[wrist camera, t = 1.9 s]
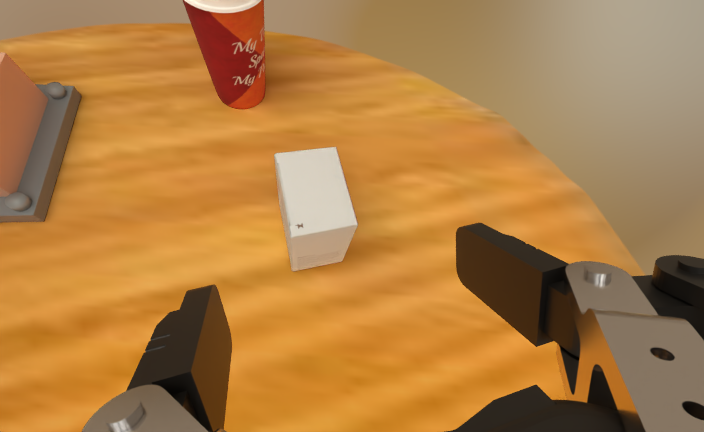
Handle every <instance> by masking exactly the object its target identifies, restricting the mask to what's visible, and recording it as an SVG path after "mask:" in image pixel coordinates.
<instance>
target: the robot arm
mask: <svg viewBox="0 0 704 432" xmlns="http://www.w3.org/2000/svg"><path fill="white" fill-rule="evenodd" d="M456 268H457V274H458V277H459V279H460V281H461V282H462V284H463V285H464V286H465V287H466V288H468V289H469V290H470V291H471V292H472V293H473V294H475V295H476V296H477V297H478V298H479V299H481V300H482V301H483V302H484V303H485V304H486V305H488V306H489V307H490V308H491V309H492V310H494V311H495V312H496V313H497V314H498V315H499V316H501V317H502V318H503V319H504V320H505V321H507V322H508V323H509V324H510V325H511V326H512V327H514V328H515V329H516V330H517V331H518V332H519V333H521V334H522V335H523V336H524V337H525V338H527V339H528V340H529V341H530V342H531V343H532V344H534V345H535V346H536V347H537V346H540V345H543V344H546V343H549V342H552V341H555V342H556V343H557V350H556V355H557V360H558V364H559V368H560V373H561V377H562V381H563V385H564V390H565V394H566V398H567V400H551V399H550V398H549V397H548V396H547V395H546V394H545V393H544V392H543V391H542V390H541V389H540V388H539V387H538V386H537V385H534V386H531V387H528V388H526V389H523V390H520V391H517V392H515V393H512V394H509V395H507V396H504V397H501V398H498V399H496V400H493V401H492V402H491V403H490V404H488V405H487V406H486V407H484V408H483V409H482V410H481V411H479V412H478V413H477V414H476V415H474V416H473V417H472V418H470V419H469V420H468V421H467V422H465V423H464V424H463V425H461V426H460V427H459V428H457V429H455V430H453V431H446V432H704V259H701V258H696V257H690V256H679V255H671V256H664V257H660V258H658V259H657V260H656V262H655V267H654V271H653V275H648V276H630V275H629V274H628V273H627V272H626V271H624V270H622V269H620V268H618V267H615V266H612V265H609V264H605V263H600V262H591V261H581V262H575V263H572V264H568V263H566V262H564V261H562V260H560V259H558V258H556V257H554V256H552V255H550V254H547V253H545V252H543V251H541V250H539V249H536V248H535V247H533V246H531V245H529V244H526V243H525V242H523V241H521V240H519V239H517V238H515V237H513V236H509V235H505V234H502V233H500V232H498V231H496V230H494V229H492V228H490V227H488V226H486V225H484V224H482V223H476V224H471V225H467V226H463V227H459V228H458V229H457V232H456ZM145 351H146V353H144V354H143V356H142V358H141V360H140V362H139V365H138V367H137V369H136V371H135V373H134V375H133V377H132V380H131V382H130V384H129V386H128V388H127V390H126V392H124V393H122V394H120V395H118V396H116V397H115V398H113V399H112V400H110V401H109V402H107V403H106V404H105V405H104V406H102V407H101V408H100V409H99V410H98V411H97V412H96V413H95V414H94V415H93V416H92V417H91V418H90V419H89V421H88V422H87V424H86V425H85V426H84V428H83V430H82V432H226V431H225V430H223V429H224V420H225V410H226V400H227V391H228V381H229V372H230V362H231V353H232V340H231V333H230V329H229V325H228V322H227V318H226V315H225V312H224V309H223V305H222V302H221V299H220V295H219V292H218V289H217V287H216V286H215V285H210V286H205V287H201V288H197V289H192V290H188V291H187V292H186V294H185V297H184V300H183V302H182V305H181V307H180V310H177V311H173V312H170V313H169V314H168V315H167V316H166V317H165V318H164V319H163V320H162V321H161V322H160V323H159V324H158V325H157V326H156V328H155V330H154V332H153V334H152V337H151V341H149V343H148V345H147V347H146V349H145Z"/></svg>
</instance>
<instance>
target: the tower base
mask: <svg viewBox="0 0 704 432" xmlns="http://www.w3.org/2000/svg"><path fill="white" fill-rule="evenodd" d="M80 99H81V95H80V94H79V92H78V91H77V90H76V89H75V87H74V86H62V85H61V84H60V83H58V82H52V83H49V84H47V85H38V84H34V83H33V82H32V81H31V80H30V79H29V78H28V76H27V75H26V74H25V73H24V72H23V71H22V70H21V69H20V68H19V67H18V66H17V65H16V64H15V62H14V61H13V60H12V59H11V58H10V57H9V56H8V55H7V54H6V53H0V222H39V221H44V220H45V217H46V213H47V210H48V206H49V203H50V200H51V196H52V193H53V190H54V186H55V183H56V180H57V176H58V173H59V169H60V166H61V163H62V159H63V156H64V153H65V149H66V146H67V142H68V139H69V136H70V132H71V129H72V126H73V122H74V119H75V115H76V112H77V109H78V105H79V102H80Z"/></svg>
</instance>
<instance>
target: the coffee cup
mask: <svg viewBox="0 0 704 432" xmlns="http://www.w3.org/2000/svg"><path fill="white" fill-rule="evenodd" d="M183 2H184V5H185V7H186V11H187V13H188V16H189V19H190V21H191V24H192V27H193V30H194V32H195V35H196V38H197V41H198V43H199V46H200V49H201V52H202V54H203V57H204V60H205V62H206V65H207V68H208V70H209V73H210V76H211V78H212V81H213V84H214V86H215V89H216V91H217V94H218V96H219V98H220V99H221V101H222V102H223V103H225V104H226V105H228V106H230V107H232V108H236V109H248V108H252V107H254V106H256V105H258V104H259V103H260V102H261V101H262V100H263V98H264V95H265V38H264V0H183Z"/></svg>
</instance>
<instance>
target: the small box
mask: <svg viewBox="0 0 704 432" xmlns="http://www.w3.org/2000/svg"><path fill="white" fill-rule="evenodd" d="M274 158H275V168H276V177H277V187H278V197H279V206H280V211H281V216H282V221H283V226H284V231H285V236H286V242H287V247H288V253H289V258H290V263H291V268H292V271H298V270H303V269H308V268H312V267H317V266H322V265H327V264H332V263H337V262H342V260H343V258H344V256H345V254H346V251H347V249H348V247H349V244H350V242H351V240H352V238H353V235H354V233H355V231H356V228H357V226H358V222H357V219H356V215H355V211H354V208H353V205H352V201H351V198H350V194H349V190H348V187H347V183H346V180H345V176H344V173H343V169H342V166H341V162H340V159H339V155H338V152H337V148H336V147H329V148H320V149H311V150H302V151H293V152H284V153H276V154H274Z"/></svg>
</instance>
